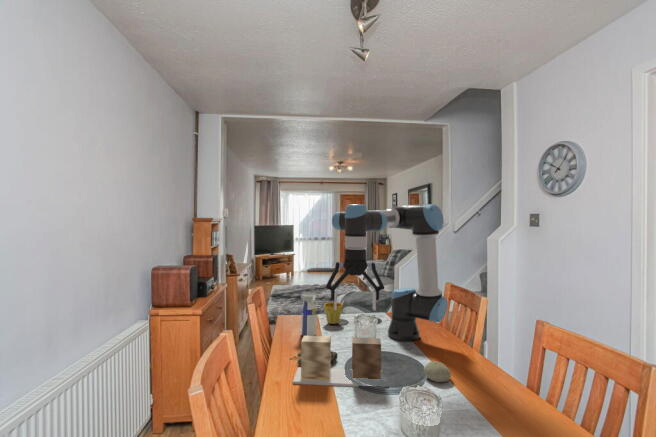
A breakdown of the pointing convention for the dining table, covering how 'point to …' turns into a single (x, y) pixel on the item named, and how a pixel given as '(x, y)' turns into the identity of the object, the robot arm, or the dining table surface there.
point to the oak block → (316, 357)
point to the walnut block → (366, 358)
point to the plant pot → (333, 312)
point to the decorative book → (333, 357)
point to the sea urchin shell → (437, 372)
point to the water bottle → (309, 314)
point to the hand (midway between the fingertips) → (354, 309)
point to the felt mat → (335, 379)
